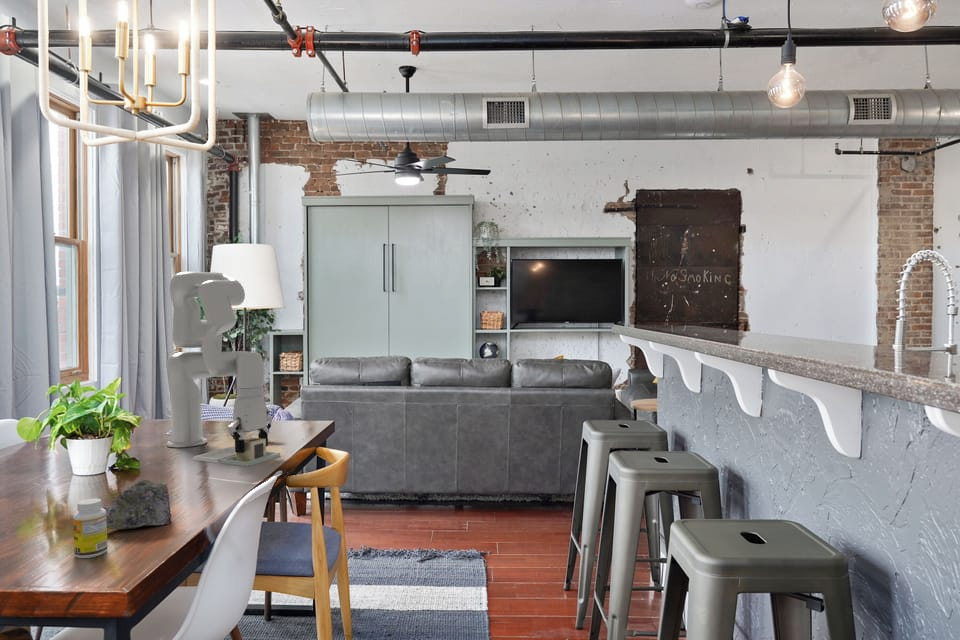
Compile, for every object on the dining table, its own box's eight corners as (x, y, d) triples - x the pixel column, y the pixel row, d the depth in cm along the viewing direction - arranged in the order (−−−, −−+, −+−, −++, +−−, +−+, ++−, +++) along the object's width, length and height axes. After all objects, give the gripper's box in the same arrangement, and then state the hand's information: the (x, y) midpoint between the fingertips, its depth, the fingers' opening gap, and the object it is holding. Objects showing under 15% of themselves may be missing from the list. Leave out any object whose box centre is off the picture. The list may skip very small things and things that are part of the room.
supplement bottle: (76, 551, 131) (74, 499, 131) (108, 547, 134) (107, 495, 133) (72, 561, 126) (70, 507, 126) (106, 556, 129) (104, 503, 128)
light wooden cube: (236, 460, 204) (236, 440, 204) (251, 456, 210) (250, 437, 210) (252, 462, 202) (251, 442, 202) (266, 458, 207) (266, 438, 207)
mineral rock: (94, 535, 141) (93, 487, 141) (121, 518, 152) (119, 474, 151) (157, 534, 141) (155, 486, 141) (179, 517, 152) (177, 473, 152)
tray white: (193, 461, 207) (193, 456, 207) (228, 451, 219) (228, 447, 219) (217, 464, 202) (217, 459, 202) (251, 454, 215) (251, 449, 215)
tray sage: (221, 464, 202) (221, 459, 202) (255, 454, 214) (255, 450, 214) (247, 467, 197) (246, 462, 197) (280, 457, 210) (280, 452, 210)
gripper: (261, 389, 215) (262, 443, 215) (218, 396, 199) (220, 454, 199) (279, 390, 212) (281, 444, 212) (238, 397, 196) (240, 456, 196)
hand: (251, 449), depth 206 cm, fingers open, 9 cm apart
